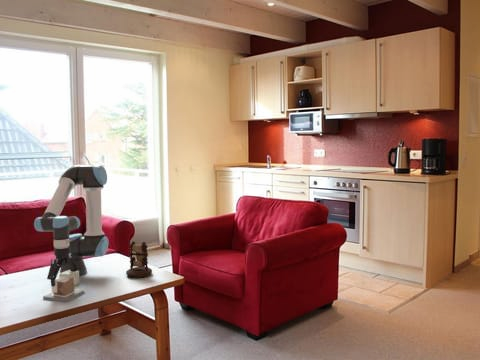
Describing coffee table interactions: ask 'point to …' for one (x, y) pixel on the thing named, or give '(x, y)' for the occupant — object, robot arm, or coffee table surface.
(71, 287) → the walnut block
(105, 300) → the coffee table surface
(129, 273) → the brown upright round-based piece
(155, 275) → the coffee table surface
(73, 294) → the board
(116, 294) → the coffee table surface
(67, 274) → the sage block
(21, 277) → the coffee table surface
